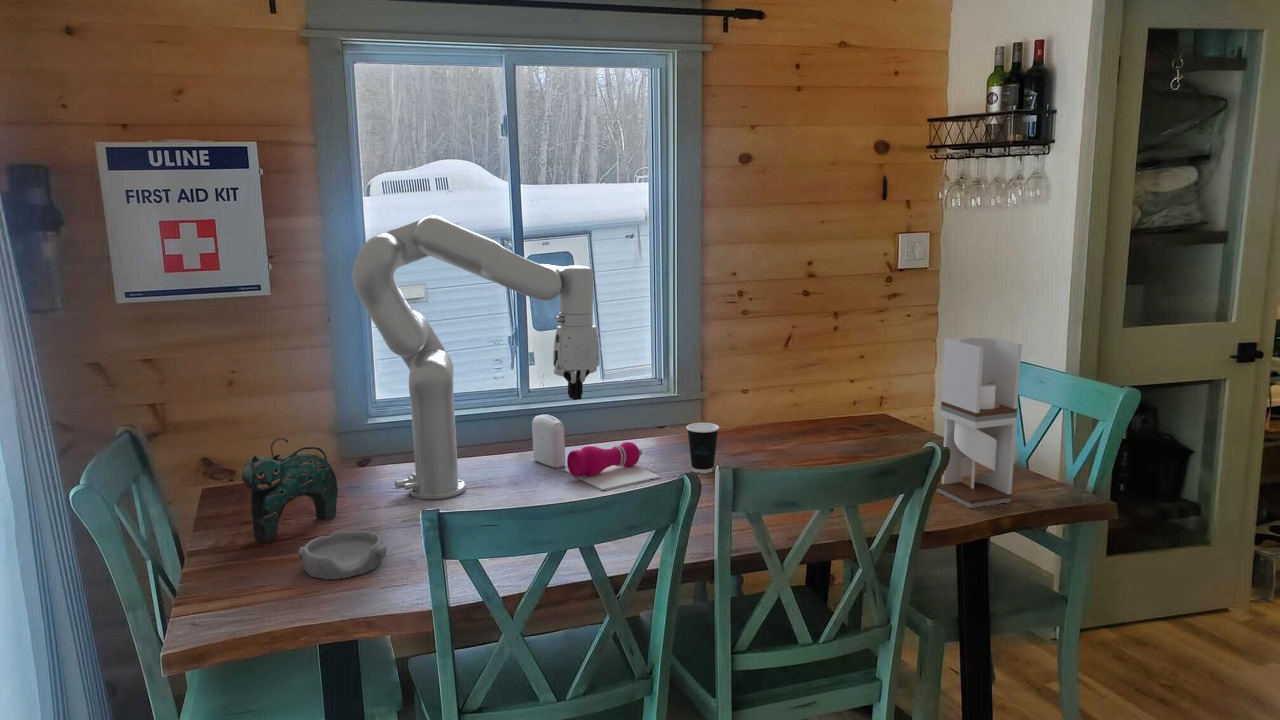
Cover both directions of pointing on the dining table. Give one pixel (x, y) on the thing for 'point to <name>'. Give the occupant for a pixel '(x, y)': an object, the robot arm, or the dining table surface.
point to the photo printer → (548, 441)
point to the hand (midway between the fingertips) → (575, 398)
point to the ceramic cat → (288, 487)
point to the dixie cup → (702, 446)
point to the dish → (342, 554)
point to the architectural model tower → (979, 418)
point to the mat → (617, 477)
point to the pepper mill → (601, 459)
